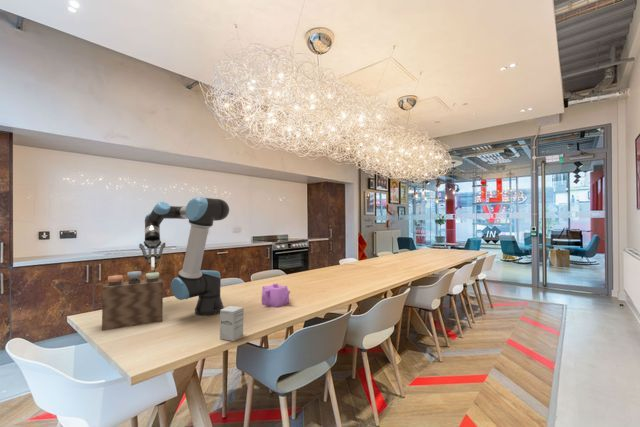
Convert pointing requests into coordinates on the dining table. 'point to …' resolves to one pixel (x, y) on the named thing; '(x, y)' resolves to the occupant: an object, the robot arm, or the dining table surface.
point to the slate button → (134, 275)
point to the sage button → (152, 275)
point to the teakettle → (275, 295)
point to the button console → (132, 303)
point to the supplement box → (231, 323)
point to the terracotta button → (115, 278)
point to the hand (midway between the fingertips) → (152, 268)
